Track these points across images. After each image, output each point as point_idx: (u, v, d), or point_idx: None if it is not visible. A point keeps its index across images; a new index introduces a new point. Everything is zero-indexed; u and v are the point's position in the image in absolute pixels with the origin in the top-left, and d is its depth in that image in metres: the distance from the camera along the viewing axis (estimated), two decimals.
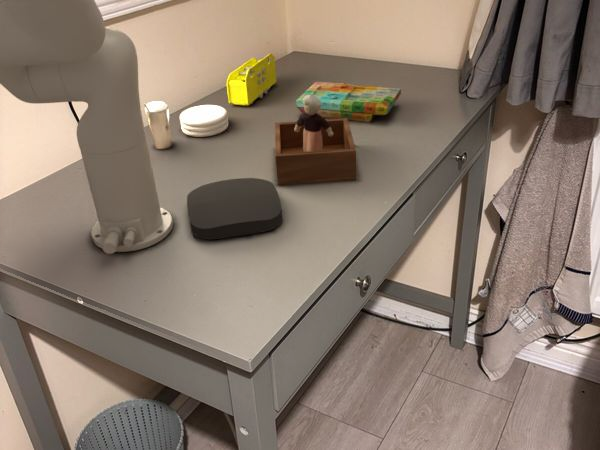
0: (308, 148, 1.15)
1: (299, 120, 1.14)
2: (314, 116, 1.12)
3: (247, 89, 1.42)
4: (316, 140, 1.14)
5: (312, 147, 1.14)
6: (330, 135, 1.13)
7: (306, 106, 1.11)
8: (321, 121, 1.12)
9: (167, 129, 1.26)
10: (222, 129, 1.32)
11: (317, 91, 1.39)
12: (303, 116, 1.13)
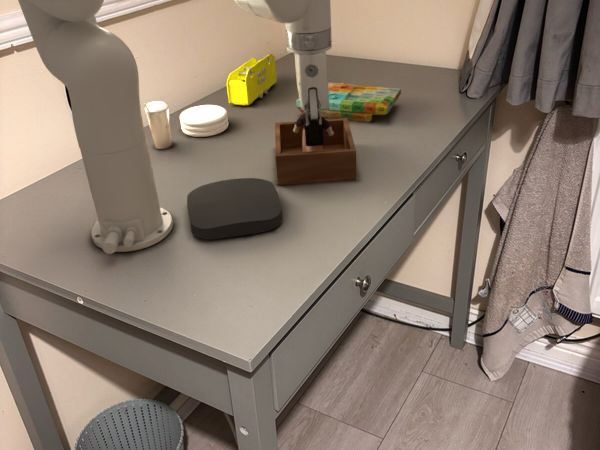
0: (308, 148, 1.15)
1: (298, 121, 1.14)
2: None
3: (247, 89, 1.42)
4: None
5: (313, 147, 1.14)
6: (331, 134, 1.13)
7: None
8: None
9: (167, 129, 1.26)
10: (222, 129, 1.32)
11: None
12: (303, 116, 1.13)
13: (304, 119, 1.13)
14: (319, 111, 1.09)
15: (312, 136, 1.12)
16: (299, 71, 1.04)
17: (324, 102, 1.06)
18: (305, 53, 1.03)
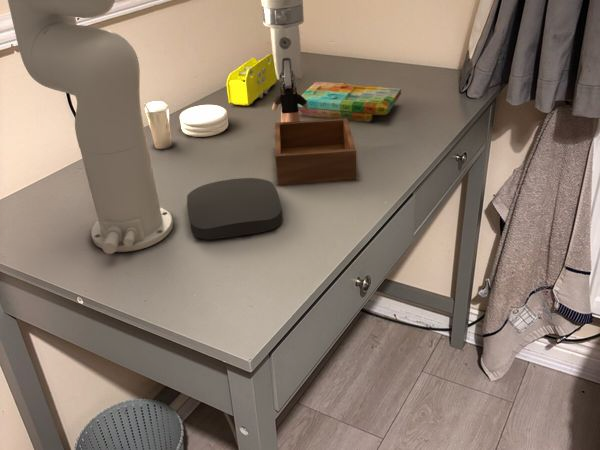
0: None
1: (277, 99, 1.26)
2: None
3: (247, 89, 1.42)
4: (294, 116, 1.26)
5: None
6: (307, 110, 1.25)
7: None
8: (298, 98, 1.24)
9: (167, 129, 1.26)
10: (222, 129, 1.32)
11: (317, 91, 1.39)
12: None
13: None
14: (293, 81, 1.21)
15: (287, 104, 1.23)
16: (274, 43, 1.15)
17: (297, 72, 1.17)
18: (279, 27, 1.14)
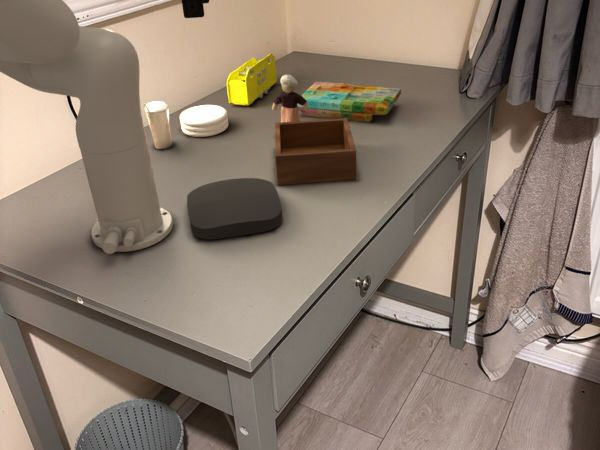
0: None
1: (277, 99, 1.26)
2: (291, 94, 1.24)
3: (247, 89, 1.42)
4: (294, 115, 1.26)
5: None
6: (307, 110, 1.25)
7: (284, 85, 1.23)
8: (298, 98, 1.25)
9: (167, 129, 1.26)
10: (222, 129, 1.32)
11: (317, 91, 1.39)
12: (281, 95, 1.25)
13: (282, 97, 1.25)
14: None
15: (189, 5, 0.99)
16: None
17: None
18: None
